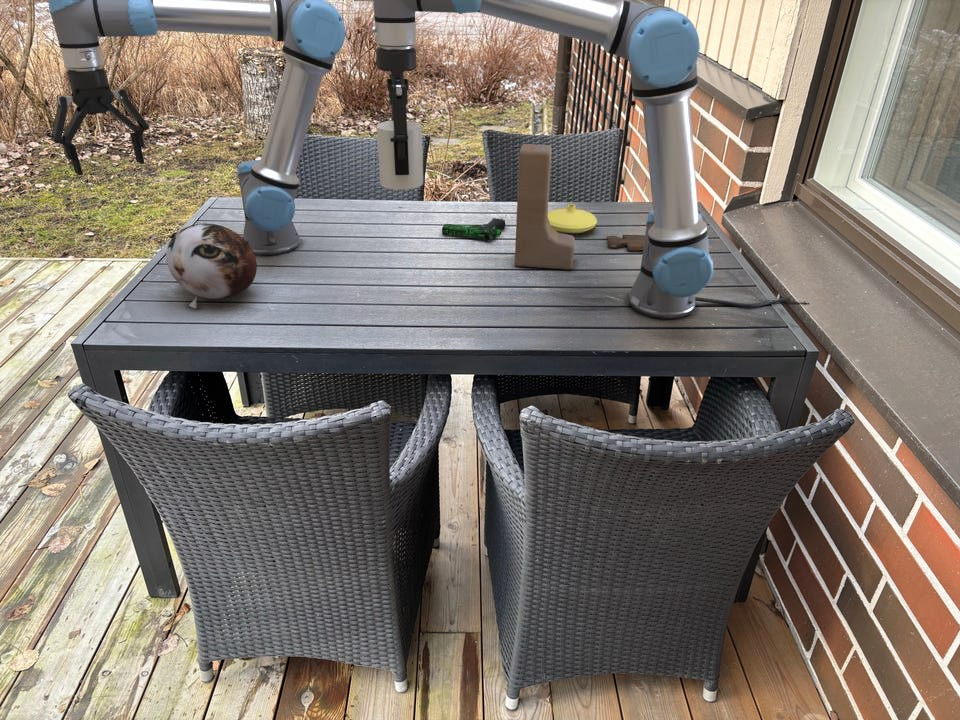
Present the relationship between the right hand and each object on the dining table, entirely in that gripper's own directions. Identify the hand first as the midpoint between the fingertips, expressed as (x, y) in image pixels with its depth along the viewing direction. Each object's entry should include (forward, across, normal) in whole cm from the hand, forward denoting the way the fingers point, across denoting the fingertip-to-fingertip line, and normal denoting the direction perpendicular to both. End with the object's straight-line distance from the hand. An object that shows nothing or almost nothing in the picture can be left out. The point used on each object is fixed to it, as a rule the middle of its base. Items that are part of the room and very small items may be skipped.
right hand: (401, 167), depth 144 cm
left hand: (+6, -26, -65) cm, 71 cm away
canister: (+3, 0, 0) cm, 3 cm away
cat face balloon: (+34, -15, -44) cm, 58 cm away
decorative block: (+34, -27, +37) cm, 57 cm away
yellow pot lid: (+34, -51, +50) cm, 79 cm away
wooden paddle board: (+34, -36, +70) cm, 86 cm away
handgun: (+34, -51, +22) cm, 65 cm away
